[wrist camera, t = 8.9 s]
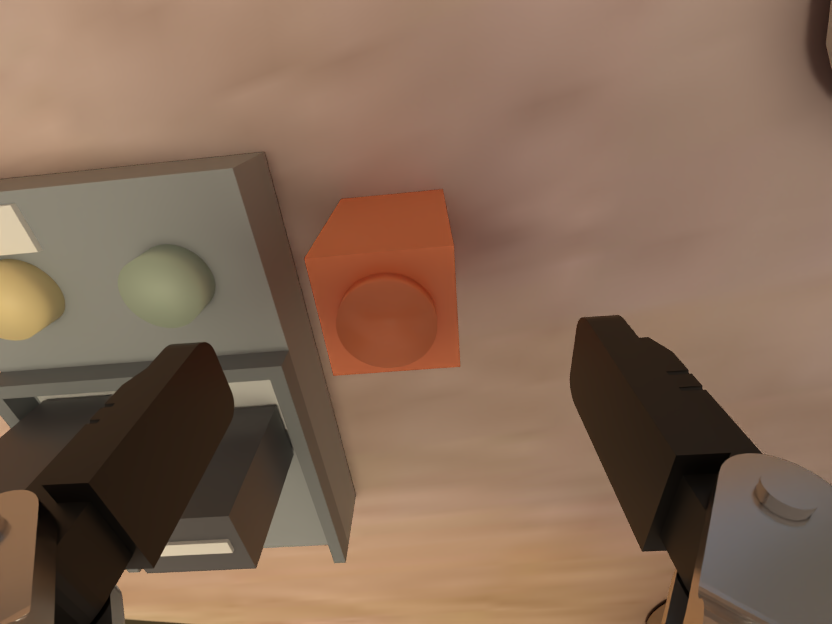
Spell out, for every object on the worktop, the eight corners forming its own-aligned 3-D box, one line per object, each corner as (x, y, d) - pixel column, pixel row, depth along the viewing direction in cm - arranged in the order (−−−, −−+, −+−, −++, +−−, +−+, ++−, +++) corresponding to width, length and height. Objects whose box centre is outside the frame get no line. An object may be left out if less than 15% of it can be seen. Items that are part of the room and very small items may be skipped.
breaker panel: (355, 495, 25) (344, 566, 22) (167, 505, 26) (126, 576, 22) (264, 151, 15) (215, 176, 12) (-38, 183, 16) (-173, 215, 12)
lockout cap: (448, 281, 18) (462, 379, 12) (358, 289, 18) (329, 388, 12) (442, 189, 16) (455, 254, 10) (341, 198, 16) (298, 268, 10)
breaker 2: (293, 454, 19) (254, 572, 14) (209, 459, 19) (145, 576, 15) (276, 405, 17) (227, 519, 13) (184, 411, 18) (105, 526, 13)
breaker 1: (163, 444, 19) (83, 561, 14) (79, 450, 19) (-26, 565, 14) (134, 393, 17) (34, 506, 13) (43, 400, 17) (-86, 513, 13)
